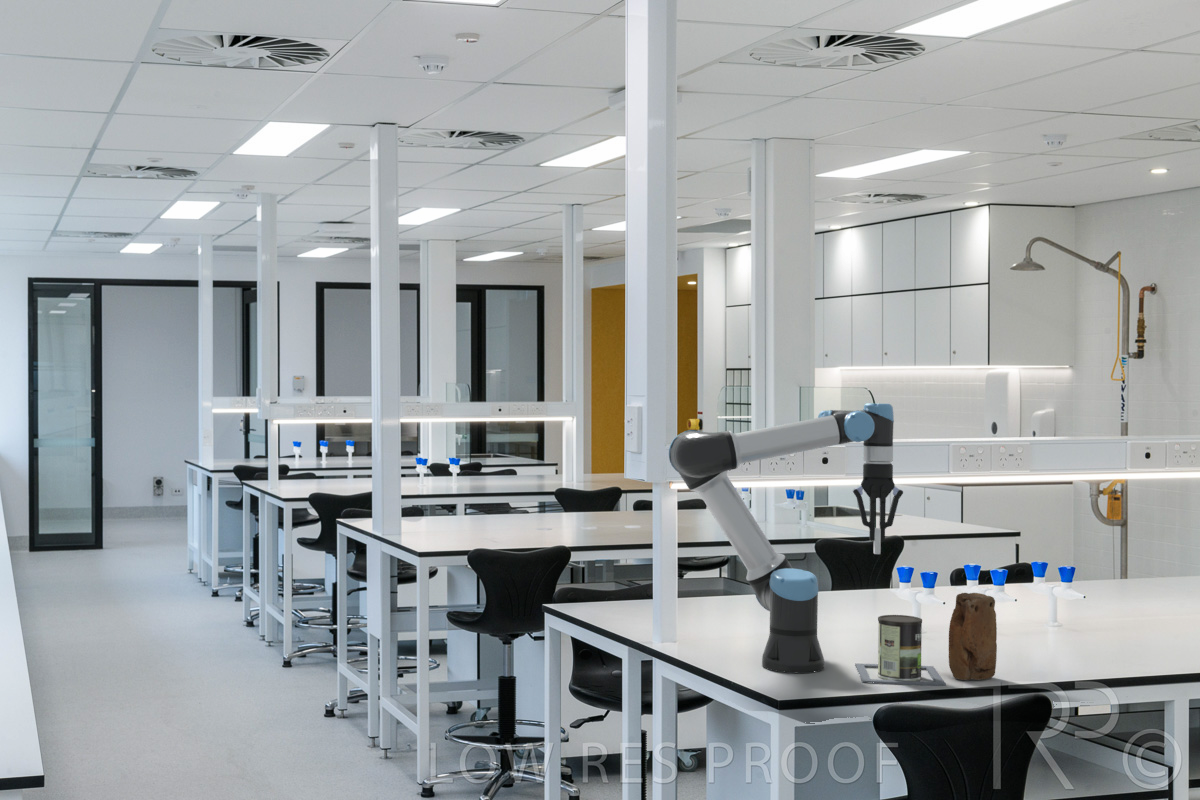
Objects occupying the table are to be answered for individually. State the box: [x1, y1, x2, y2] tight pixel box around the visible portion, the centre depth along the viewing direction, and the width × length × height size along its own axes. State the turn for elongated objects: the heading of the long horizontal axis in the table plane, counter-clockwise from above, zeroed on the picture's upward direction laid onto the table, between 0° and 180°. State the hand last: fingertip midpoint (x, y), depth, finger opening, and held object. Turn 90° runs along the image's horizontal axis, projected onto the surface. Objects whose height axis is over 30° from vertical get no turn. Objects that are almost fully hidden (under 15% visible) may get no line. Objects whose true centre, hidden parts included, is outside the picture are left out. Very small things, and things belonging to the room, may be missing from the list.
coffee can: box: [877, 614, 923, 681], centre depth 290 cm, size 10×10×14 cm
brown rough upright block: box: [948, 592, 998, 681], centre depth 289 cm, size 11×8×20 cm
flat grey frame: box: [854, 663, 947, 687], centre depth 291 cm, size 19×19×1 cm
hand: (876, 553), depth 315 cm, fingers closed
